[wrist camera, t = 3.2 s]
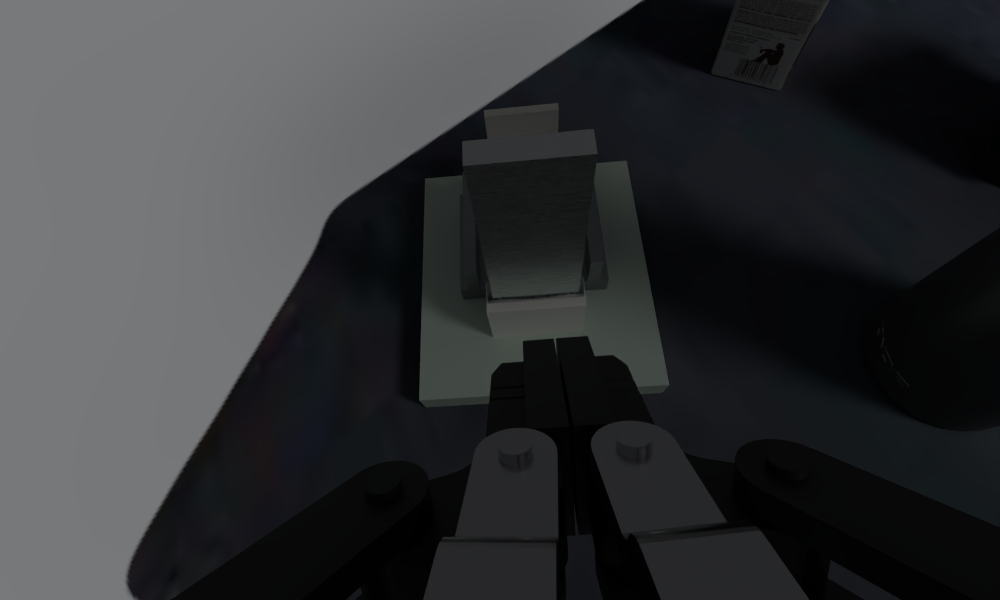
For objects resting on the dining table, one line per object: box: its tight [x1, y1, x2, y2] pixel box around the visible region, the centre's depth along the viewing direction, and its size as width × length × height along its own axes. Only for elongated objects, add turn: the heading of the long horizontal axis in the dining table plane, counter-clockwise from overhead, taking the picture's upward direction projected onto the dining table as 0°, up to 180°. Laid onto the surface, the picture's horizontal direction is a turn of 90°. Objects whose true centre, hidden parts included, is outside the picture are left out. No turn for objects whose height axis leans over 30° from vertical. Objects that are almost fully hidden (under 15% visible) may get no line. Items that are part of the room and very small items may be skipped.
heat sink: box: [460, 172, 609, 300], centre depth 35 cm, size 10×8×4 cm
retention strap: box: [462, 129, 598, 304], centre depth 24 cm, size 6×1×13 cm, turn 93°
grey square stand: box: [419, 103, 669, 407], centre depth 34 cm, size 16×18×8 cm
